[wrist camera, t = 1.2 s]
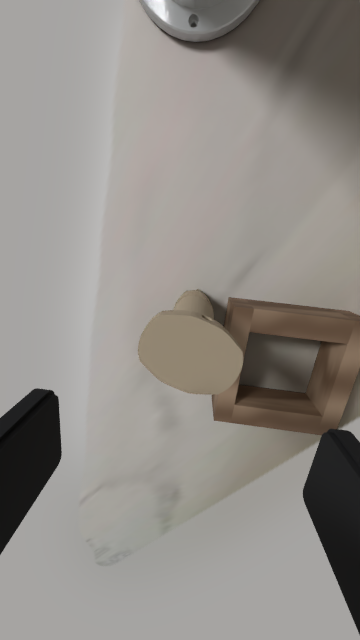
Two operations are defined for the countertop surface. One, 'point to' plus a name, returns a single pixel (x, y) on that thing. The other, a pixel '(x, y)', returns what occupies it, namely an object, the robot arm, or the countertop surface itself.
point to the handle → (191, 347)
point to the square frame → (326, 379)
